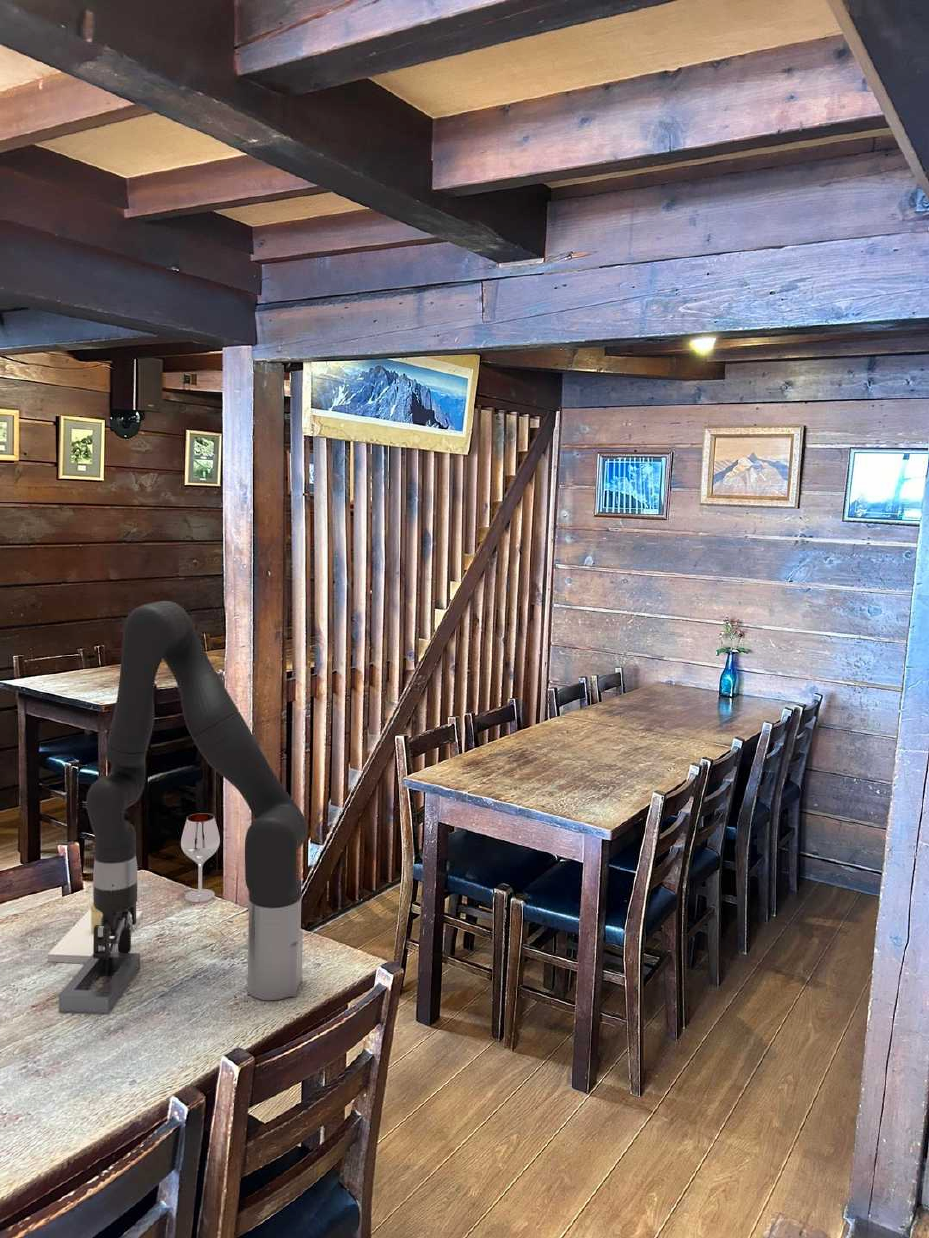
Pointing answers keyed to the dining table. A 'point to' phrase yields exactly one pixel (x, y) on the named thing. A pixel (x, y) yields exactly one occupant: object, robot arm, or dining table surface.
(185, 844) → the wineglass
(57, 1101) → the dining table surface
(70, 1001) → the grey rectangular frame
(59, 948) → the board
